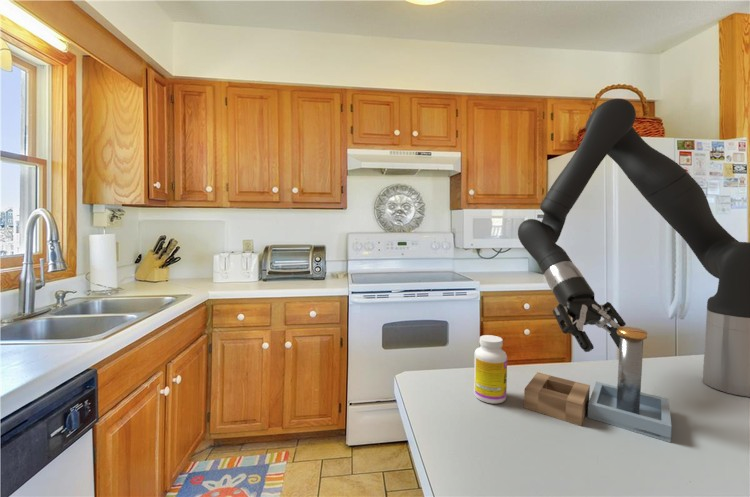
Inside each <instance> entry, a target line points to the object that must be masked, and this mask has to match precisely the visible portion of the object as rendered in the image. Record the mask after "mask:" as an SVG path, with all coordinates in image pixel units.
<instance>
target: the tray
mask: <svg viewBox="0 0 750 497" xmlns="http://www.w3.org/2000/svg"><path fill="white" fill-rule="evenodd" d="M616 405H617V385H613V384H609V383H604V382H600V381H595V383H594V386H593V389H592V393H591V395H590V396H589V403H588V409H587V418H588V419H590V420H594V421H597V422H601V423H604V424H608V425H610V426H611V425H612V426H614V427H618V428H621V429H624V430H628V431H631V432H635V433H637V434H640V435H645V436H647V437H651V438H655V439H657V440H661V441H664V442H668V443H669V444H670V443H671V442H672V419H671V407H670V400H669V398H666V397H663V396H659V395H658V396H657V395H654V394H649V393H645V392H641V394H640V413H639V415H638V414H635V413H631V412H628V411H624V410H620V409H617V408H616Z"/></svg>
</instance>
